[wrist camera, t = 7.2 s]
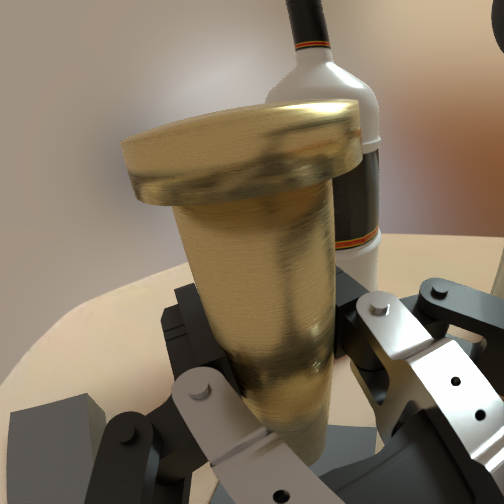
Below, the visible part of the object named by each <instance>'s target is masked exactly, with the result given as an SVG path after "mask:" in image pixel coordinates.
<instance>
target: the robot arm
mask: <svg viewBox="0 0 504 504" xmlns="http://www.w3.org/2000/svg"><path fill="white" fill-rule="evenodd" d="M491 20H492V28H493V32H494V36H495V39H496V41H497V43H498V46H499V47H500V49H501V51H502V52H503V53H504V0H493V4H492V14H491ZM174 291H175V295H176V298H177V302H178V304H176V305H174V306H171V307H168V308H165V309H164V312H163V315H162V318H161V324H162V329H163V332H164V333H163V334H164V338H165V341H166V347H167V351H168V355H169V359H170V363H171V367H172V371H173V375H174V380H175V382H174V385H173V388H172V393H171V395H170V397H169V398H168V399H167V401H166V402H165V403H164V404H162V405H161V406H160V407H158V408H157V409H155V410H153V411H152V412H150V413H149V414H147V415H146V416H144V415H143V414H141V413H138V412H132V411H129V412H123V413H120V414H118V415H116V416H115V417H113V418H112V419H111V420H110V421H109V422H108V424H107V425H106V427H105V429H104V432H103V435H102V439H101V442H100V445H99V449H98V452H97V456H96V459H95V463H94V466H93V470H92V474H91V477H90V481H89V485H88V489H87V493H86V497H85V501H84V504H189V496H190V487H191V479H192V472H194V471H195V470H197V469H198V468H200V467H201V466H202V465H204V464H205V463H207V462H208V461H209V462H210V466H211V468H212V470H213V472H214V473H215V475H216V477H217V478H218V480H219V481H220V483H221V484H222V485H223V487H224V488H225V490H226V491H227V492H228V494H229V495H230V497H231V498H232V499H233V501H234V502H235V503H236V504H504V402H503V401H502V400H501V398H500V397H499V396H498V394H499V395H501V396H504V249H503V253H502V257H501V260H500V264H499V267H498V271H497V274H496V277H495V281H494V284H493V287H492V290H491V293H490V294H487V293H484V292H481V291H478V290H475V289H472V288H470V287H467V286H464V285H461V284H458V283H455V282H452V281H449V280H446V279H442V278H430V279H427V280H425V281H424V282H422V284H421V286H420V290H419V294H418V295H414V296H410V297H406V298H402V299H398V298H397V297H395V296H394V295H392V294H390V293H387V292H383V291H373V292H370V291H368V290H367V289H366V288H365V287H363V286H362V285H361V284H360V283H358V282H357V281H356V280H355V279H353V278H352V277H351V276H349V275H348V274H347V273H346V272H345V273H344V271H343V270H342V269H341V268H339V267H337V266H336V265H335V333H334V354H333V356H334V357H335V359H338V358H340V357H342V356H343V355H345V354H347V355H348V356H349V357H350V358H351V361H350V367H351V370H352V372H353V374H354V376H355V377H356V379H357V381H358V383H359V385H360V386H361V388H362V390H363V392H364V394H365V396H366V397H367V399H368V401H369V403H370V405H371V407H372V408H373V410H374V413H375V417H376V426H377V430H378V432H379V435H380V437H381V439H382V441H383V443H384V444H385V446H384V447H383V449H382V450H381V451H380V452H379V453H378V454H376V455H374V456H372V457H369V458H366V459H363V460H361V461H358V462H355V463H352V464H349V465H345V466H342V467H339V468H336V469H332V470H331V471H329V472H327V473H325V474H323V475H321V476H319V477H317V476H316V475H315V474H314V473H313V472H312V471H311V470H310V469H309V468H308V467H307V466H306V465H305V464H304V463H303V462H302V461H301V459H300V458H299V457H298V456H297V455H296V454H295V453H294V452H293V451H292V450H291V449H290V448H289V447H288V446H287V445H286V443H285V442H284V441H283V440H282V439H281V438H280V437H279V436H278V435H277V434H276V433H274V432H273V431H271V430H270V431H269V430H267V429H266V428H265V427H264V426H263V425H262V423H261V422H260V421H259V420H258V419H257V417H256V416H255V415H254V414H253V413H252V411H251V410H250V409H249V408H248V407H247V405H246V404H245V403H244V402H243V399H242V397H241V394H240V392H239V389H238V386H237V384H236V381H235V378H234V376H233V373H232V370H231V368H230V365H229V362H228V359H227V357H226V354H225V352H224V350H223V348H222V347H221V346H220V345H219V343H218V342H217V341H216V339H215V337H214V335H213V333H212V330H211V327H210V324H209V322H208V319H207V316H206V313H205V310H204V307H203V304H202V302H201V299H200V296H199V293H198V291H197V289H196V286H195V284H194V283H191V284H188V285H186V286H183V287H180V288H177V289H174ZM450 324H452V325H454V326H457V327H460V328H462V329H465V330H468V331H471V332H473V333H476V334H479V335H481V336H483V339H482V340H481V341H480V342H479V343H471V342H468V341H466V340H463V339H460V338H458V337H455V336H452V335H450V334H447V330H448V328H449V325H450Z"/></svg>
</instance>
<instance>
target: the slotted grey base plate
mask: <svg viewBox="0 0 504 504" xmlns="http://www.w3.org/2000/svg"><path fill="white" fill-rule="evenodd" d="M105 427H106V421H105V413H104V411H103V410H102V409H101V408H100V407H99V406H98V405H97V404H96V403H95V401H94V400H93V399H92V398H91V397H90V396H89V395H88V394H87V393H85V394H81V395H78V396H74V397H71V398H67V399H64V400H60V401H56V402H52V403H49V404H45V405H41V406H37V407H33V408H28V409H24V410H20V411H15V412H11V414H10V422H9V432H8V445H7V502H8V504H84V501H85V497H86V493H87V489H88V485H89V481H90V477H91V474H92V470H93V466H94V463H95V459H96V456H97V452H98V449H99V445H100V442H101V439H102V435H103V432H104V429H105Z"/></svg>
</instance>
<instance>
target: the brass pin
mask: <svg viewBox="0 0 504 504" xmlns="http://www.w3.org/2000/svg"><path fill="white" fill-rule="evenodd" d="M120 145H121V149H122V153H123V156H124V160H125V164H126V167H127V171H128V174H129V178H130V181H131V185H132V188H133V191H134V195H135V197H136V198H137V199H138V200H139V201H141V202H143V203H147V204H151V205H159V206H172V209H173V213H174V216H175V220H176V223H177V226H178V230H179V233H180V236H181V240H182V243H183V246H184V250H185V252H186V255H187V259H188V262H189V265H190V269H191V272H192V275H193V278H194V281H195V284H196V287H197V290H198V293H199V296H200V299H201V302H202V304H203V307H204V310H205V313H206V316H207V319H208V322H209V324H210V327H211V330H212V333H213V335H214V337H215V339H216V341H217V342H218V343H219V345H220V346H221V347H222V348H223V350H224V352H225V354H226V357H227V359H228V362H229V365H230V368H231V370H232V373H233V376H234V378H235V381H236V384H237V386H238V389H239V392H240V394H241V397H242V399H243V402H244V403H245V404H246V405H247V407H248V408H249V409H250V410H251V411H252V413H253V414H254V415H255V416H256V417H257V419H258V420H259V421H260V422H261V423H262V425H263V426H264V427H265V428H266V429H267V430H269V431H270V430H271V431H273V432H274V433H276V434H277V435H278V436H279V437H280V438H281V439H282V440H283V441H284V442H285V443H286V445H287V446H288V447H289V448H290V449H291V450H292V451H293V452H294V453H295V454H296V455H297V456H298V457H299V458H300V459H301V461H302V462H303V463H304V464H305V465H306V466H307V467H309V466H311V465H313V464H314V463H315V462H316V461H317V460H318V459H319V458H320V457H321V455H322V454H323V452H324V449H325V443H326V435H327V427H328V418H329V408H330V397H331V385H332V371H333V354H334V333H335V226H334V204H333V187H332V178H335V177H337V176H340V175H342V174H344V173H346V172H348V171H350V170H352V169H354V168H355V167H356V166H357V165H359V164H360V162H361V161H362V158H363V151H362V136H361V123H360V113H359V103H358V100H353V99H309V100H295V101H284V102H274V103H266V104H259V105H252V106H245V107H239V108H234V109H228V110H223V111H218V112H213V113H208V114H204V115H200V116H196V117H191V118H188V119H184V120H180V121H176V122H173V123H169V124H166V125H162V126H159V127H156V128H153V129H150V130H147V131H144V132H141V133H138V134H136V135H133V136H131V137H128V138H126V139H124V140H122V141H120Z"/></svg>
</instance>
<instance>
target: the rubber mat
mask: <svg viewBox="0 0 504 504" xmlns="http://www.w3.org/2000/svg"><path fill="white" fill-rule="evenodd" d="M376 435H377V427H353V426H338V425H328V427H327V435H326V443H325V449H324V452H323V454H322V455H321V457H320V458H319V459H318V460H317V461H316V462H315V463H314V464H313V465H311V466H309V467H308V468H309V469H310V470H311V471H312V472H313V473H314V474H315V475H316V476H317V477H319V476H321V475H323V474H325V473H327V472H329V471H331V470H332V469H336V468H339V467H342V466H345V465H349V464H352V463H355V462H358V461H361V460H363V459H366V458H369V457H372V456H374V452H375V444H376ZM210 504H236V503H235V502H234V501H233V499H232V498H231V497H230V495H229V494H228V492H227V491H226V490H225V488H224V487H223V485H222V484H221V483H220V482H219V484H218V486H217V489H216V491H215V493H214V495H213V497H212V500H211V502H210Z"/></svg>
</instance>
